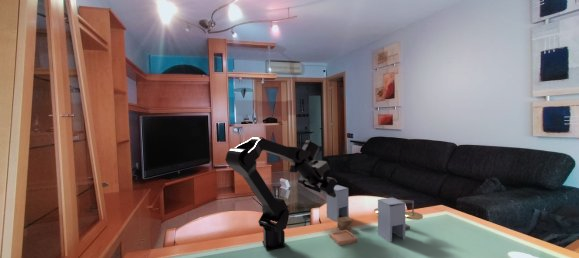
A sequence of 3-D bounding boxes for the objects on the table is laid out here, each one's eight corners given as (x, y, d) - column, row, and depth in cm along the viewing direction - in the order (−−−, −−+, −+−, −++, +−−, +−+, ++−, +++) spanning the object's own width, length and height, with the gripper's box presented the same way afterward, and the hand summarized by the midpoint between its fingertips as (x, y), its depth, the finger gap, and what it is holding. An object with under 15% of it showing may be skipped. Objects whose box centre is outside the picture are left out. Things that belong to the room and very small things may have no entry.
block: (342, 232, 103) (342, 221, 103) (337, 228, 107) (337, 218, 107) (351, 230, 104) (351, 220, 104) (346, 226, 108) (346, 216, 108)
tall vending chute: (337, 222, 112) (337, 190, 112) (326, 217, 118) (326, 187, 117) (348, 218, 116) (348, 188, 115) (337, 213, 121) (337, 184, 121)
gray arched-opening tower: (389, 242, 94) (389, 205, 93) (378, 234, 100) (377, 199, 99) (405, 239, 96) (405, 202, 95) (392, 231, 102) (392, 197, 101)
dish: (339, 245, 92) (339, 241, 92) (329, 236, 99) (329, 232, 99) (357, 242, 95) (357, 237, 95) (346, 233, 101) (346, 229, 101)
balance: (412, 240, 95) (412, 204, 94) (370, 216, 117) (370, 187, 117) (426, 237, 97) (427, 202, 96) (383, 214, 120) (383, 186, 119)
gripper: (333, 157, 102) (354, 182, 108) (303, 152, 117) (323, 174, 124) (316, 181, 98) (339, 206, 104) (288, 172, 113) (309, 194, 120)
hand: (327, 194), depth 113 cm, fingers open, 9 cm apart
